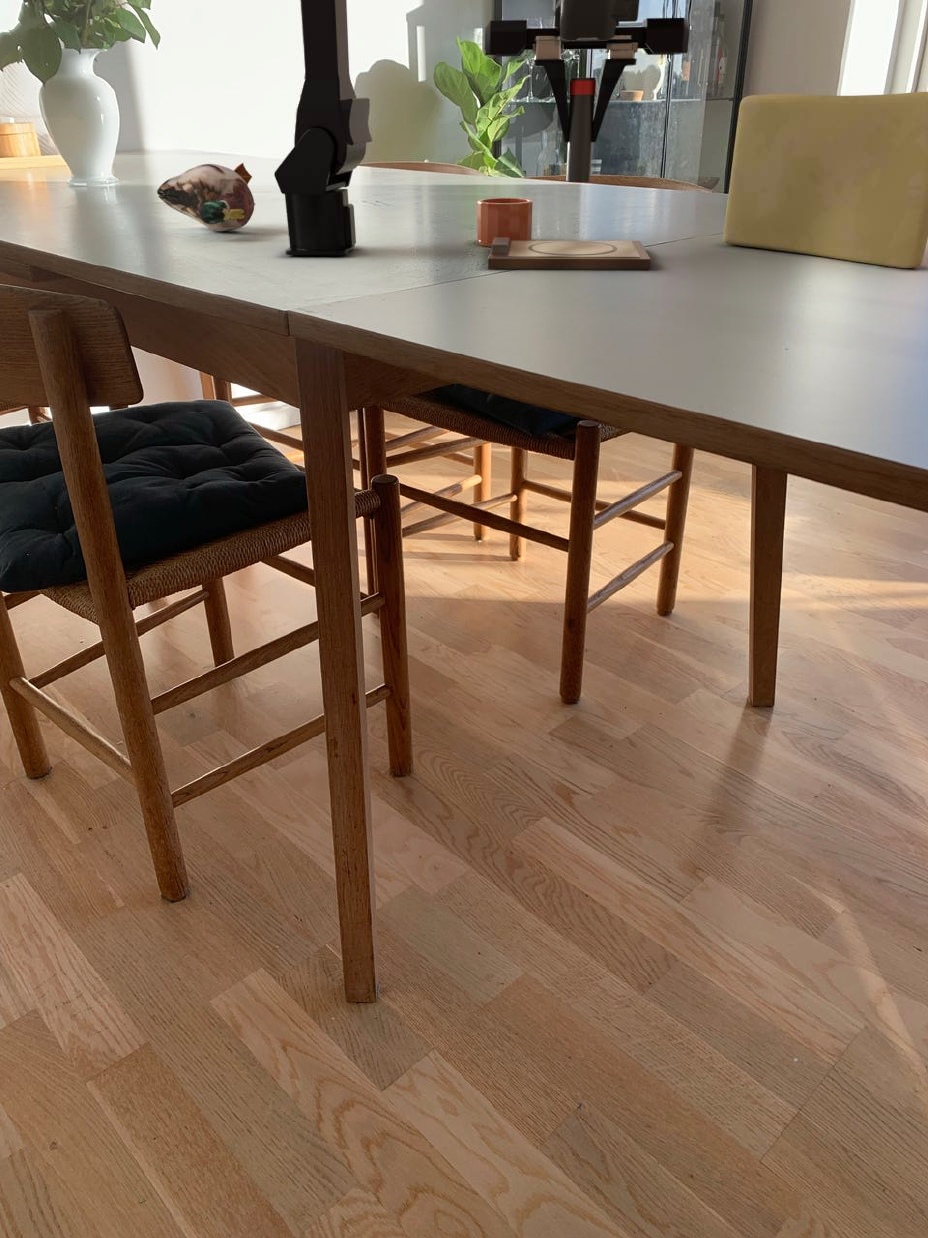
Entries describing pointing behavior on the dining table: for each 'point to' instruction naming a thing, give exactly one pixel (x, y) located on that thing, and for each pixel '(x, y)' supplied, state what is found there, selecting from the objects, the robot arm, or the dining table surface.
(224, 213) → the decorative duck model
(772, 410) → the dining table surface
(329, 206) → the robot arm
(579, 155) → the marker
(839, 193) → the cheese
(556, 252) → the wooden board with ring
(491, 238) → the pen pot
